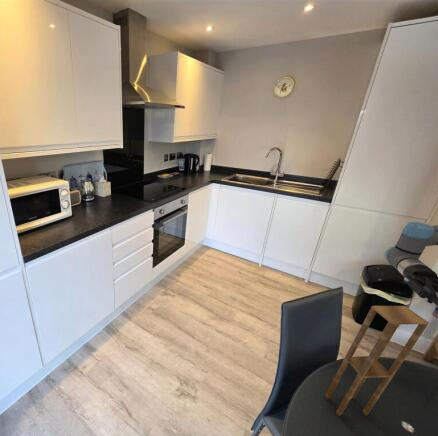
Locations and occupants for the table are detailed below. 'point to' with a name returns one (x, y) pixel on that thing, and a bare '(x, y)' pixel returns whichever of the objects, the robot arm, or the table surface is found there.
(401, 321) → the shelf
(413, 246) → the robot arm
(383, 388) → the stand frame
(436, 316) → the pill bottle
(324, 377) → the table surface
